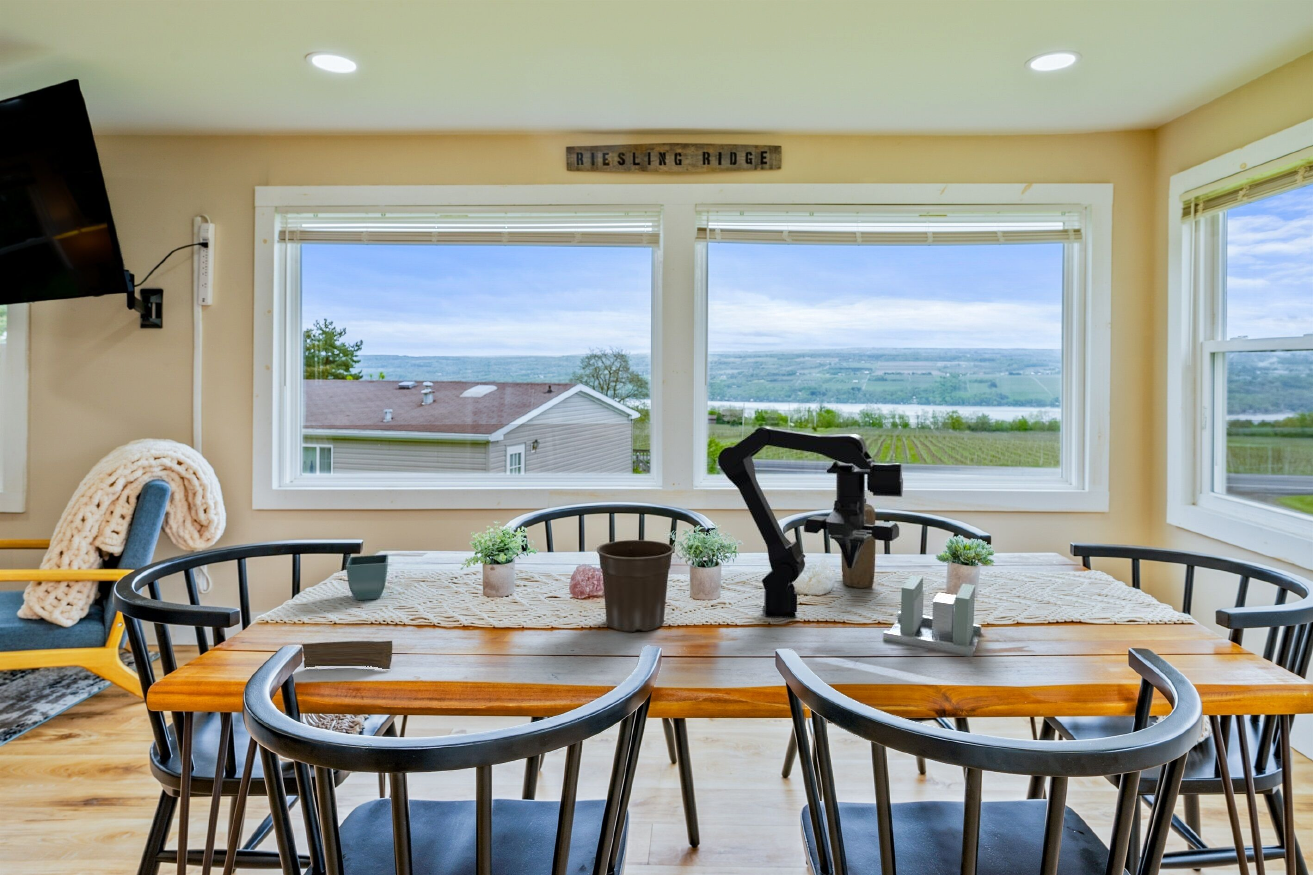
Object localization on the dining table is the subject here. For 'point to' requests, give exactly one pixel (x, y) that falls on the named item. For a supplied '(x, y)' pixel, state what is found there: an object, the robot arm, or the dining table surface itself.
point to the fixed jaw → (964, 615)
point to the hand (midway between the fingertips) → (850, 568)
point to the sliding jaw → (912, 605)
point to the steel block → (943, 617)
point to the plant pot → (635, 583)
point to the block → (862, 559)
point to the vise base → (925, 638)
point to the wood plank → (348, 654)
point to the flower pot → (367, 576)
